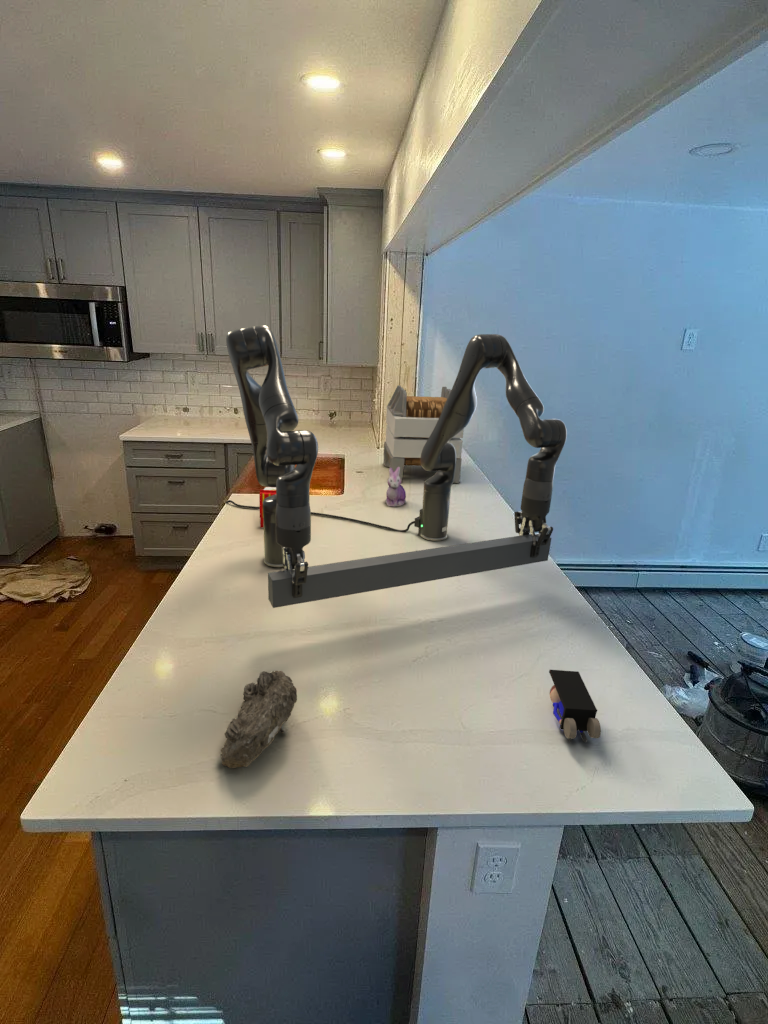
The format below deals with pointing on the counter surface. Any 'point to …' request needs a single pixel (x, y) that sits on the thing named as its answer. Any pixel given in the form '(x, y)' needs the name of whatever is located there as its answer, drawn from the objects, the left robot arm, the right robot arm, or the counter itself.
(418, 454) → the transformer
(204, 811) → the counter surface
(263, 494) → the toy
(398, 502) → the figurine
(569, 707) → the figurine character
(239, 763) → the fossil
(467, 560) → the beam
